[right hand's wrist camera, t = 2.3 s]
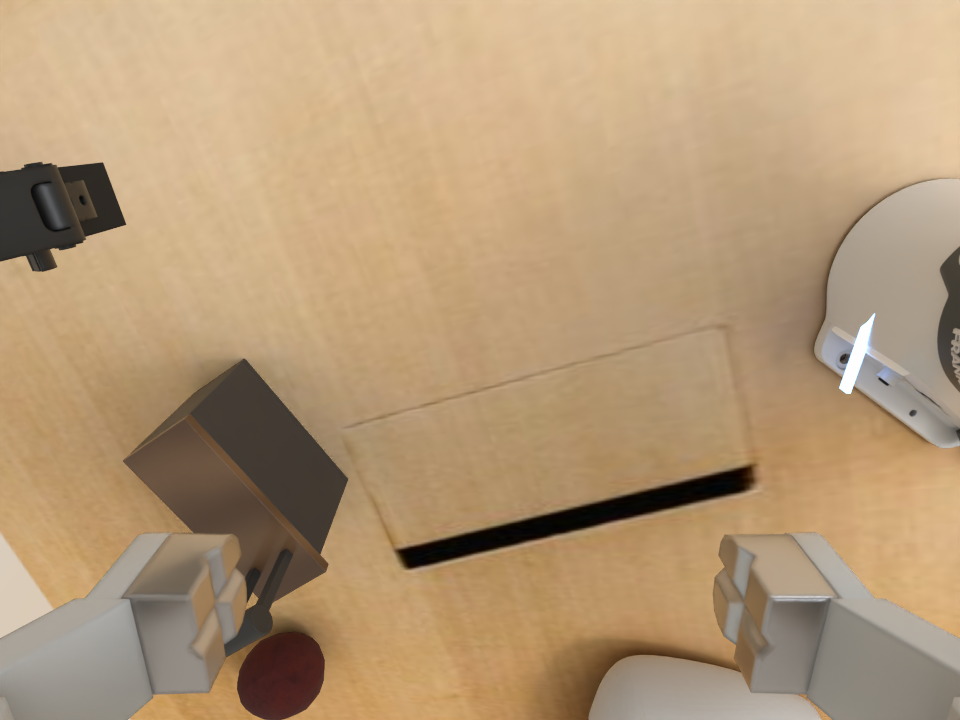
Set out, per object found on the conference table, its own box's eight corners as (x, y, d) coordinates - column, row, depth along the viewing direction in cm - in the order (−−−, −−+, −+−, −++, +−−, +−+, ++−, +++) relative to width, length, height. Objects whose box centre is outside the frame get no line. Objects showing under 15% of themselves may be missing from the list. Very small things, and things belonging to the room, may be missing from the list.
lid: (328, 563, 45) (297, 654, 37) (270, 598, 46) (228, 693, 38) (190, 412, 41) (122, 480, 33) (129, 454, 42) (50, 529, 34)
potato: (238, 646, 61) (209, 710, 54) (289, 600, 59) (264, 661, 52) (298, 686, 62) (277, 753, 56) (349, 643, 60) (333, 707, 54)
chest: (348, 479, 54) (320, 554, 45) (299, 509, 55) (261, 588, 46) (244, 358, 50) (190, 412, 41) (193, 393, 51) (129, 454, 42)
